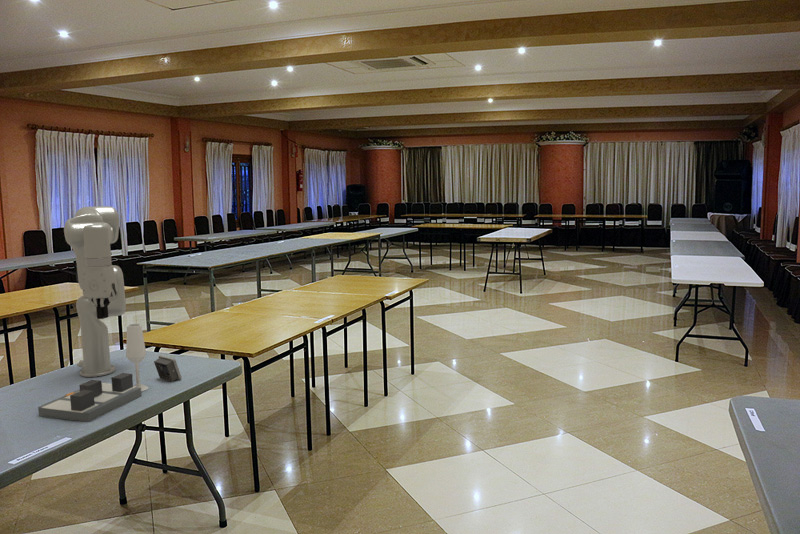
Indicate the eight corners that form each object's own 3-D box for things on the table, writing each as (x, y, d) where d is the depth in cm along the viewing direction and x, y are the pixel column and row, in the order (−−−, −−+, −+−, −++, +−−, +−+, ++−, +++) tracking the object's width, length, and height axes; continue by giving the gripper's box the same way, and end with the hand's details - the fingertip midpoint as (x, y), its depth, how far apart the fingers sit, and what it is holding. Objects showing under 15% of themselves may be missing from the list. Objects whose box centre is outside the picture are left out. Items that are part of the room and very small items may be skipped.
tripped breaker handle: (80, 397, 200) (79, 384, 199) (92, 392, 205) (91, 379, 205) (90, 398, 199) (89, 385, 198) (102, 393, 204) (101, 380, 204)
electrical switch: (182, 379, 229) (178, 356, 227) (170, 384, 225) (167, 361, 223) (167, 375, 234) (163, 353, 232) (155, 380, 230) (151, 357, 228)
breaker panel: (37, 416, 193) (35, 392, 192) (95, 390, 217) (94, 369, 216) (88, 422, 188) (86, 398, 187) (142, 395, 212) (140, 373, 211)
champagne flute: (129, 393, 214) (124, 328, 211) (128, 387, 220) (123, 324, 217) (149, 390, 217) (145, 326, 214) (147, 384, 223) (143, 322, 220)
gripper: (70, 263, 191) (75, 319, 193) (109, 264, 187) (113, 321, 189) (88, 260, 198) (92, 314, 201) (126, 261, 194) (130, 316, 197)
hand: (102, 318), depth 195 cm, fingers closed
